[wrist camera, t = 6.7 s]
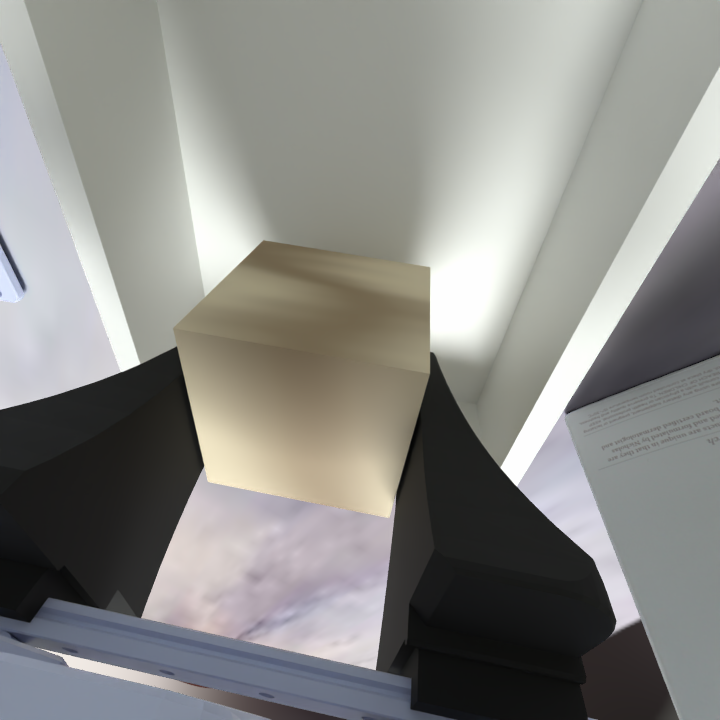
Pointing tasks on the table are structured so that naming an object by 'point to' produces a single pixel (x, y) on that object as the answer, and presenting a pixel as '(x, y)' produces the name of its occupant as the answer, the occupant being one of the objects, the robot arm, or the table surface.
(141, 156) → the tote
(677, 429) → the supplement box
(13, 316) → the table surface
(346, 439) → the maple cube
